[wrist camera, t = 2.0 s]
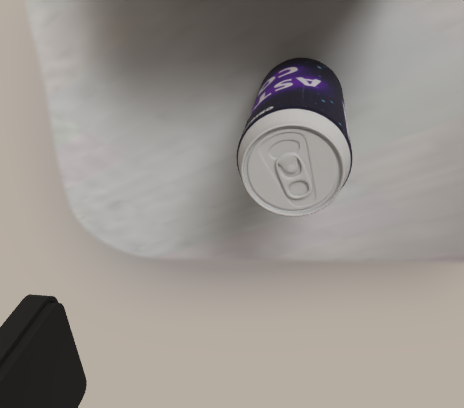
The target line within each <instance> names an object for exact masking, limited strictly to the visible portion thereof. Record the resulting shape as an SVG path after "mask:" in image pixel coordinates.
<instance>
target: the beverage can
mask: <svg viewBox="0 0 464 408" xmlns="http://www.w3.org/2000/svg"><path fill="white" fill-rule="evenodd" d="M237 166H238V170H239V173H240V176H241V178H242V181H243V184H244V186H245V188H246V190H247V192H248V193H249V195H250V196H251V198H252V199H253V200H254V201H255V202H256V203H257V204H259V205H260V206H261V207H263V208H265V209H266V210H268V211H270V212H273V213H275V214H279V215H283V216H304V215H308V214H312V213H315V212H317V211H319V210H321V209H323V208H324V207H326V206H327V205H328V204H329V203H331V202H332V201H333V200H334V198H335V197H336V196H337V195H338V193H339V191H340V190H341V188H342V187H343V186H344V184H345V183H346V181H347V179H348V177H349V174H350V171H351V166H352V150H351V144H350V137H349V131H348V125H347V118H346V112H345V106H344V99H343V93H342V88H341V85H340V82H339V80H338V78H337V77H336V75H335V74H334V73H333V71H332V70H331V69H330V68H328V67H327V66H326V65H324V64H323V63H321V62H319V61H316V60H313V59H308V58H296V59H291V60H287V61H285V62H283V63H281V64H279V65H277V66H276V67H275V68H273V69H272V70H271V71H270V72H269V73H268V75H267V76H266V77H265V79H264V81H263V83H262V85H261V88H260V90H259V93H258V95H257V98H256V100H255V103H254V106H253V108H252V111H251V113H250V116H249V119H248V121H247V124H246V126H245V129H244V131H243V134H242V137H241V139H240V142H239V145H238V149H237Z"/></svg>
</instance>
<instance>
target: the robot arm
mask: <svg viewBox="0 0 464 408" xmlns="http://www.w3.org/2000/svg"><path fill="white" fill-rule="evenodd" d="M85 390H86V377H85V374H84V371H83V367H82V364H81V361H80V358H79V355H78V351H77V348H76V345H75V342H74V338H73V335H72V332H71V329H70V325H69V322H68V319H67V316H66V312H65V309H64V306H63V305H62V304H61V303H58V301H57V299H56V298H55V297H53V296H42V295H28V296H26V297H25V298H24V299H23V300H22V301H21V302H20V304H19V305H18V306H17V307H16V309H15V310H14V311H13V312H12V314H11V315H10V316H9V317H8V318H7V320H6V321H5V322H4V323H3V325H2V326H1V327H0V408H78V406H79V404H80V402H81V400H82V398H83V396H84V393H85Z"/></svg>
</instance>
